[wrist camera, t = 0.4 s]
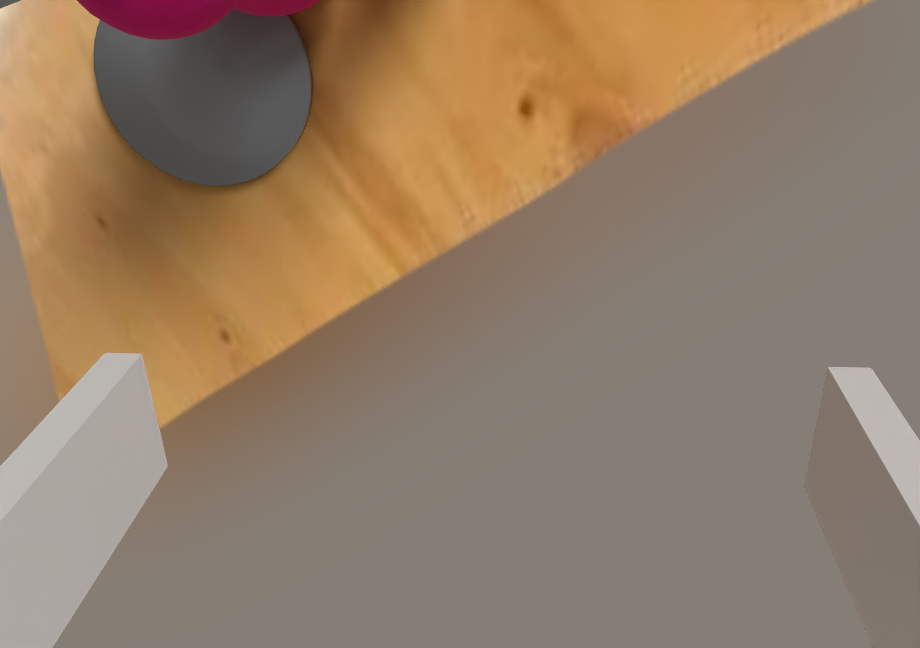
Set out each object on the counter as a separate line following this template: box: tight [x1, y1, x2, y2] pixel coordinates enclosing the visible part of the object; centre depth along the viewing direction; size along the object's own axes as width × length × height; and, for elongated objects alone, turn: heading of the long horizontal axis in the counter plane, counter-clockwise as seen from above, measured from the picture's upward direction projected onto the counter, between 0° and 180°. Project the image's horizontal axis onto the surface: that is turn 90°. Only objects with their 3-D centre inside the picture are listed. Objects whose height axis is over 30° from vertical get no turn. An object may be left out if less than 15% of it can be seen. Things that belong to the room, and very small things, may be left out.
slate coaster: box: [94, 9, 313, 186], centre depth 43 cm, size 11×11×1 cm
